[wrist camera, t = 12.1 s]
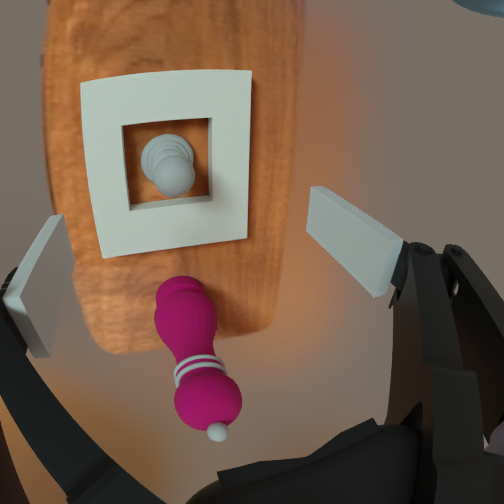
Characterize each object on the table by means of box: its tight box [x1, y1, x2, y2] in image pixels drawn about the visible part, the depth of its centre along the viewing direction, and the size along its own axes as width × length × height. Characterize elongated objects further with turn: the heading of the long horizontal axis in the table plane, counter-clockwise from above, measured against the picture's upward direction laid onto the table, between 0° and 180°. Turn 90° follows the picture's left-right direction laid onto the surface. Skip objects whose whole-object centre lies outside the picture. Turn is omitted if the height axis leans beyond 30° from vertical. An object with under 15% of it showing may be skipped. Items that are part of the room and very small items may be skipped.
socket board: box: [81, 70, 252, 258], centre depth 27 cm, size 18×16×2 cm
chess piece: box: [141, 134, 195, 197], centre depth 24 cm, size 5×5×9 cm
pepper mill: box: [154, 276, 242, 441], centre depth 28 cm, size 7×7×20 cm
